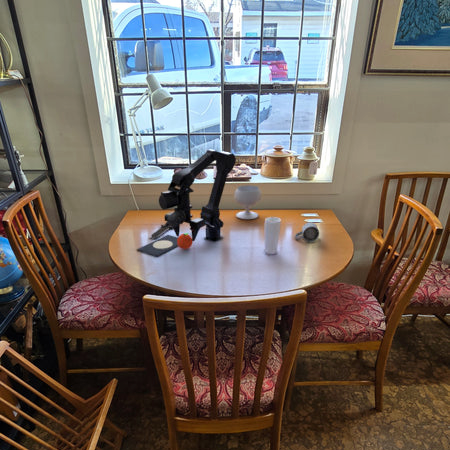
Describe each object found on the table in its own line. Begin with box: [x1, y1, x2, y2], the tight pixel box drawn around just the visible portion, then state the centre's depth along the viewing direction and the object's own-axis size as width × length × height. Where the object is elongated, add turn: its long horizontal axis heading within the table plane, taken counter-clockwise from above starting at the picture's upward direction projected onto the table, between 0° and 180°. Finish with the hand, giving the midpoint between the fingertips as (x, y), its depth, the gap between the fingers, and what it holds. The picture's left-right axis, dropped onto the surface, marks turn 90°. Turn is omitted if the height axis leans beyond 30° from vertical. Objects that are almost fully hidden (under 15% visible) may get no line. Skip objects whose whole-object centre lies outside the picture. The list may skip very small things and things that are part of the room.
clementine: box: [177, 232, 194, 250], centre depth 165 cm, size 8×7×7 cm
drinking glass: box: [263, 216, 282, 255], centre depth 159 cm, size 7×7×15 cm
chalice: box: [234, 185, 262, 220], centre depth 197 cm, size 14×14×15 cm
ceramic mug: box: [294, 222, 320, 243], centre depth 173 cm, size 11×8×8 cm
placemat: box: [137, 234, 179, 258], centre depth 169 cm, size 12×20×1 cm, turn 145°
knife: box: [150, 221, 174, 240], centre depth 184 cm, size 25×6×1 cm, turn 154°
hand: (185, 238), depth 164 cm, fingers open, 9 cm apart
